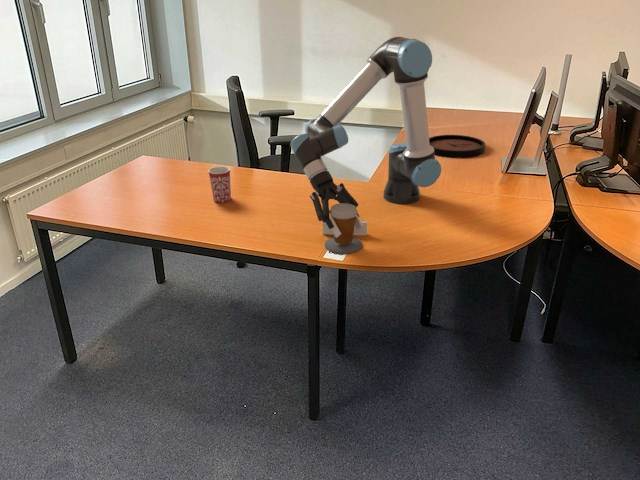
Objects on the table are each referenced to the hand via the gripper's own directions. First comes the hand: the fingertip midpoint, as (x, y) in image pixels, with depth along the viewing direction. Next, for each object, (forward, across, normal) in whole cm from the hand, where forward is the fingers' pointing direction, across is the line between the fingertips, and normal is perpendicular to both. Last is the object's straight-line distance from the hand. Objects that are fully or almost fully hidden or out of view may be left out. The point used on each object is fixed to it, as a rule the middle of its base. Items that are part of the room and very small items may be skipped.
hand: (349, 231), depth 179 cm
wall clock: (-29, -120, -39) cm, 129 cm away
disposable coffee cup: (+1, 0, -6) cm, 6 cm away
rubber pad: (+2, 0, -7) cm, 7 cm away
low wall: (-2, -6, -11) cm, 13 cm away
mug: (-45, +8, -55) cm, 72 cm away
